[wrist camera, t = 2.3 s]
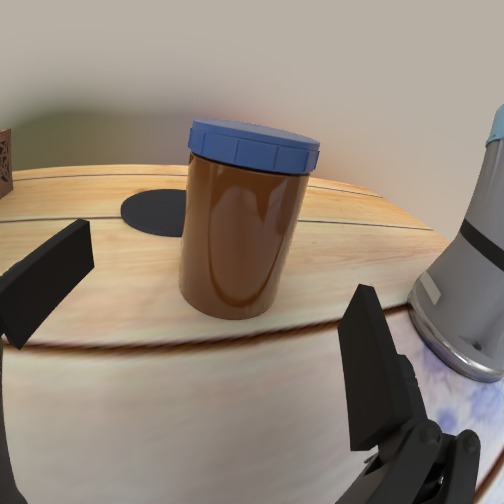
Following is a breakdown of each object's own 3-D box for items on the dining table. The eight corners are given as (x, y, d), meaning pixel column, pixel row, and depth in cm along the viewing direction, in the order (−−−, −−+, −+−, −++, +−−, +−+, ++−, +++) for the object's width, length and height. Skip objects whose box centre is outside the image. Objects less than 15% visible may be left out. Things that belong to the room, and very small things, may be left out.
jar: (270, 266, 25) (301, 140, 20) (280, 325, 19) (332, 159, 13) (187, 254, 24) (202, 122, 19) (170, 311, 18) (182, 132, 12)
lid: (300, 156, 20) (305, 135, 19) (328, 184, 14) (337, 151, 13) (199, 139, 19) (203, 116, 19) (175, 157, 13) (179, 122, 12)
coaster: (229, 200, 38) (229, 196, 38) (224, 244, 27) (225, 239, 27) (141, 188, 37) (141, 185, 36) (102, 227, 25) (102, 222, 25)
